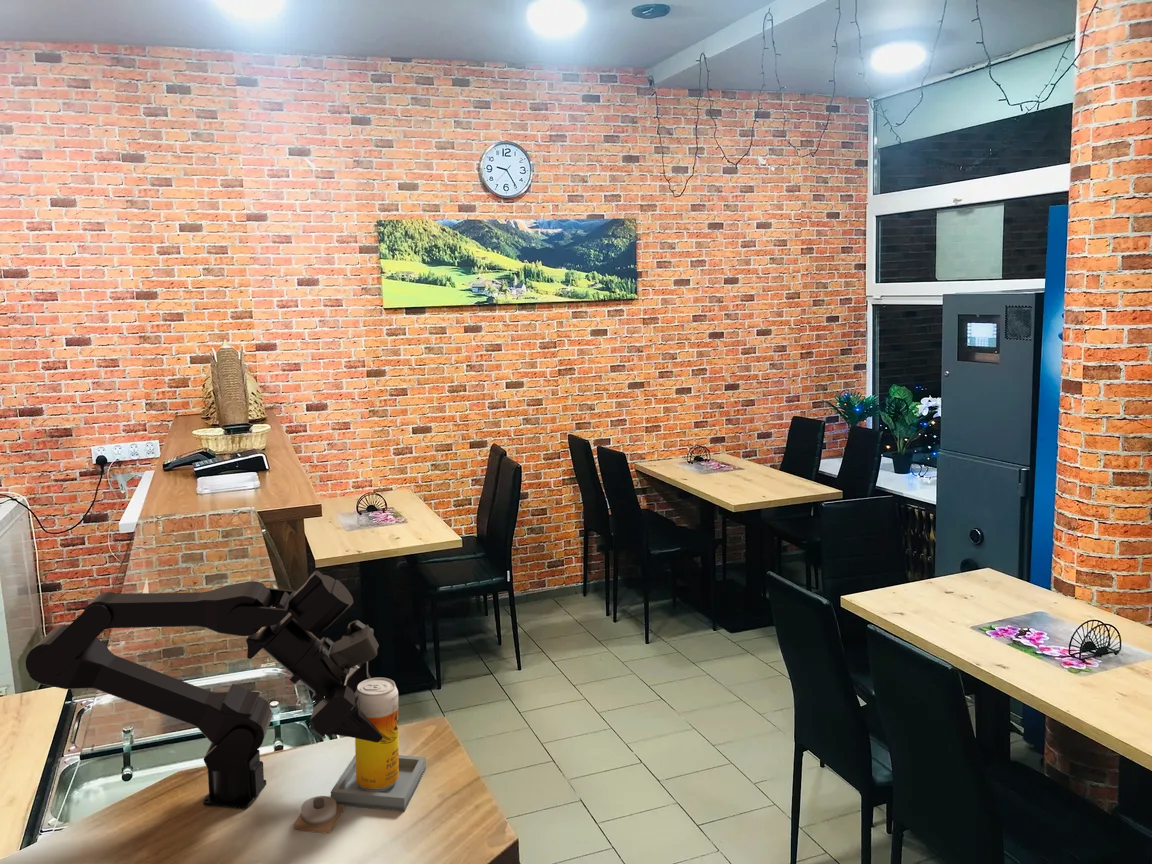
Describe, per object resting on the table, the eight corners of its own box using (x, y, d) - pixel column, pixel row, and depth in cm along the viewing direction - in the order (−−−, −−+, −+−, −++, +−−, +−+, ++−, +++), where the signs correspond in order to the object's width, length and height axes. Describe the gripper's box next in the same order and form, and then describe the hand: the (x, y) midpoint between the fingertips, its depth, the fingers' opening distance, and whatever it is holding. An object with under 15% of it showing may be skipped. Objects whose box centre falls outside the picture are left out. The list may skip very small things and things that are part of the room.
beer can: (396, 793, 126) (395, 695, 123) (352, 794, 125) (351, 696, 123) (400, 770, 132) (400, 675, 129) (359, 771, 131) (357, 676, 129)
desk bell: (293, 830, 118) (293, 809, 118) (309, 808, 123) (308, 788, 122) (329, 833, 118) (329, 813, 117) (343, 811, 122) (343, 791, 122)
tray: (331, 804, 124) (330, 791, 124) (357, 763, 134) (357, 751, 134) (404, 811, 123) (404, 798, 122) (425, 769, 133) (425, 757, 133)
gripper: (333, 641, 114) (421, 716, 117) (350, 589, 132) (425, 656, 136) (272, 700, 114) (361, 774, 118) (297, 640, 133) (373, 706, 136)
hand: (383, 723), depth 127 cm, fingers open, 9 cm apart
